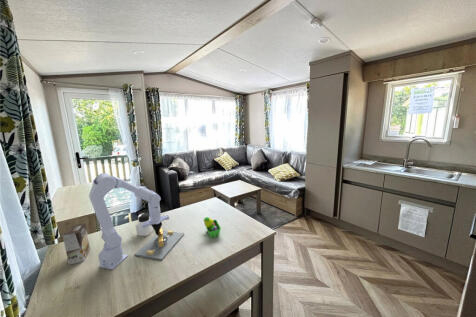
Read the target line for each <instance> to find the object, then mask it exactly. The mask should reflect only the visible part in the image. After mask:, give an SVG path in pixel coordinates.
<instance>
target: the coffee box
mask: <svg viewBox="0 0 476 317" xmlns="http://www.w3.org/2000/svg"><path fill="white" fill-rule="evenodd" d="M62 239H63V240H62V241H63V244H64V248H65V252H66V256H67V261H68V265H74V264H79V263H82V262H85V260H86V258H87V257H88V255H89V254H90V252H91V246H90V241H89V235H88V230H87V225H86V223H80V224H75V225H71V226H70V227H69V228H68V229H67V230H66V231H65V232H64V233H63V234H62Z"/></svg>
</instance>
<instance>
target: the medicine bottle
mask: <svg viewBox="0 0 476 317" xmlns="http://www.w3.org/2000/svg"><path fill="white" fill-rule="evenodd" d="M149 220H150V215H149V213H146V212H143V213H141V214H139V215H138V216H137V221H138V222H137V223H136V224H135V230H136V236H141V237H142V236H144V237H145V236H146V237H147V236H149V235H150V234H151V233H152V232H153V231H155V230H154V228H153V227H152V226H151V225H150V226H147V227H145V228H142V224H143V223H145V222H147V221H149Z"/></svg>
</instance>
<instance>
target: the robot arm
mask: <svg viewBox="0 0 476 317" xmlns="http://www.w3.org/2000/svg"><path fill="white" fill-rule="evenodd" d="M119 188H122V189H125V190H127V191H129V192H131V193H133V194H134V196H135V197H136V198H139V199H142V200H144V201H146V202H147V203H148V204H147V205H148V212H149V213H148V214H149V219H150V220H149V221H147V222H145V223H143V224H142V228H145V227H147V226H150V225H151V226H152V227H153V228H154V230H153V231H154V232H155V233H154V234H155V235H158V231H160V229H161V228H162V226H163V223H162V222H164V221H168V220H170V216H169V214H168V215H167V214H166V215H163V216H162V215H161V207H160V206H161V205H160V201H161V200H162V198H161V196H160V195H159V194H158V193H157V192H155V191H154V190H152V189H148V188H147V187H146V186H145V185H143V186H142V185H140V186H136V185H134V184H132V183H130V182H128V181H126V180H125V179H122V178H120V177H117V176H115V175H110V174H108V173H105V172H103V173H100V174H98V175H97V176H95V178H94V179H93V180H92V186H91V188H90V191H89V194H88V198H89V199H90V200H89V201H90V202H91V205H92V208H93V210H94V212H95V213H94V214H95V215H96V218H97V220H98V223H99V225H100V228H101V239H102V240H103V242H104V244H103V248H102V250H101V251H100V252H99V253H98V261H99V265H98V267H99V268H103V269H107V270H114V269H115V268H116V267H117V266H118V265H119V264H120V263H122V262H123V261H124V260H125V259H126V258H127V257H128V256H129V255H128V254H124V250H123V245H122V236H121V235H120V234H119V233H118V231H117V230H116V227H115V226H114V222H113V220H112V217H111V214H110V211H109V209H108V207H107V204H106V201H105V196H106V195H107V194H108V193H109V192H110V191H112V190H114V189H119Z"/></svg>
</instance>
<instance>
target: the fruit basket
mask: <svg viewBox="0 0 476 317" xmlns="http://www.w3.org/2000/svg"><path fill="white" fill-rule="evenodd" d="M203 222H204V226H205V228H206V230H207V232H208V236H209V238H214V237H219V236H220V232H221V229H222V228H221V226H220V225H219V223H218V221H217V219H212V218H210V217H208V216H206V217H204V218H203Z"/></svg>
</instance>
